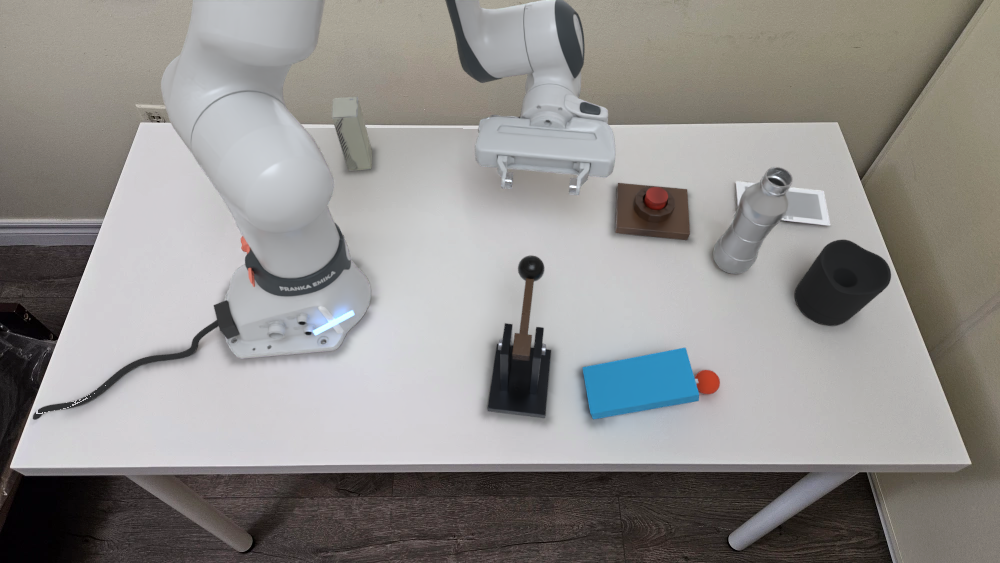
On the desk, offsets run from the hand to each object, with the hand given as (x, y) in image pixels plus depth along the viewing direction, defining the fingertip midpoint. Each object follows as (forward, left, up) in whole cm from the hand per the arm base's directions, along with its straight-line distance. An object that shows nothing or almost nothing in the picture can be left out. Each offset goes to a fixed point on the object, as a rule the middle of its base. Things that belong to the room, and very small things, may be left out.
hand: (540, 188), depth 80 cm
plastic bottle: (+30, -10, -17) cm, 36 cm away
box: (-24, +30, -17) cm, 42 cm away
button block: (+22, +3, -17) cm, 28 cm away
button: (+22, +3, -14) cm, 26 cm away
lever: (-6, -14, -7) cm, 17 cm away
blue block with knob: (+8, -26, -17) cm, 33 cm away
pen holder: (+40, -21, -17) cm, 48 cm away
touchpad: (+44, -2, -17) cm, 47 cm away
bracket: (-9, -20, -17) cm, 27 cm away
